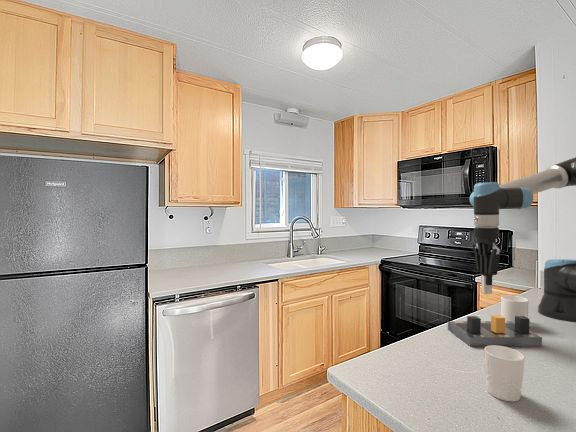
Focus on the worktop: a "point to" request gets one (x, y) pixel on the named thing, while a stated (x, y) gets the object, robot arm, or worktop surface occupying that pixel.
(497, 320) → the toggle
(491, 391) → the white cup
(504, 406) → the worktop surface
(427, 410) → the worktop surface
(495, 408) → the worktop surface
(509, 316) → the mug
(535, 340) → the panel
